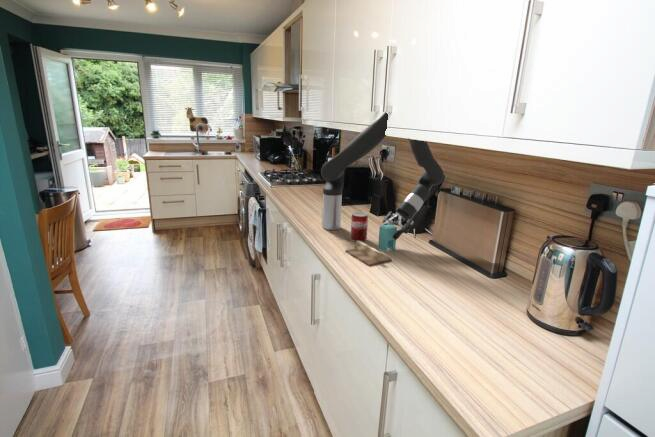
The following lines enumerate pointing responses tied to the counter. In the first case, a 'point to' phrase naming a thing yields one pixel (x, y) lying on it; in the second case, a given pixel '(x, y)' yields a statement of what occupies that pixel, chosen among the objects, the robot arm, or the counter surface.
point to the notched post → (387, 237)
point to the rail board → (368, 254)
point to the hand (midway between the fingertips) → (387, 235)
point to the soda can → (359, 226)
